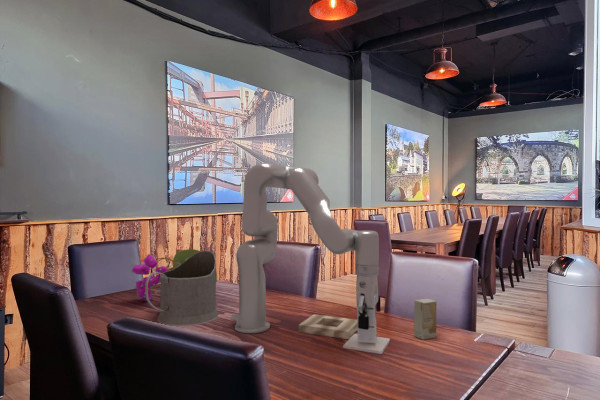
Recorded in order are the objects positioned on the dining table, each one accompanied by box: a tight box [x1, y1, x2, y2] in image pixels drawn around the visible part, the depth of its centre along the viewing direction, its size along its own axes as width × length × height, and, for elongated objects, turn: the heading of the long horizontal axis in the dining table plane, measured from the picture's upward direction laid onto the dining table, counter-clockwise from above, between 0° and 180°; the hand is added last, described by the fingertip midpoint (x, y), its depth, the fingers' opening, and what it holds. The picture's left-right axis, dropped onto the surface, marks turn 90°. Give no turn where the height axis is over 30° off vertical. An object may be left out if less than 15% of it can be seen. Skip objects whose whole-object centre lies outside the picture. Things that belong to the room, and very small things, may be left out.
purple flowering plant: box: [131, 248, 218, 302], centre depth 186 cm, size 30×28×35 cm
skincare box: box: [413, 298, 437, 340], centre depth 133 cm, size 6×4×12 cm
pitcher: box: [145, 250, 220, 327], centre depth 153 cm, size 23×32×25 cm
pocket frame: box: [298, 313, 358, 340], centre depth 141 cm, size 18×14×2 cm
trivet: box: [342, 333, 391, 355], centre depth 126 cm, size 12×12×1 cm
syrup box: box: [356, 297, 378, 343], centre depth 126 cm, size 6×6×14 cm
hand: (366, 325), depth 126 cm, fingers closed on syrup box, 6 cm apart
